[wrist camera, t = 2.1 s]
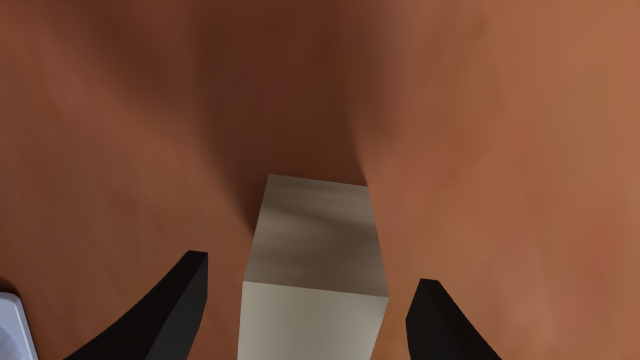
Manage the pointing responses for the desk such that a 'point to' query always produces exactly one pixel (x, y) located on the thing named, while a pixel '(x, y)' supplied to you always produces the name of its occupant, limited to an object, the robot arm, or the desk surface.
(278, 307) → the birch block
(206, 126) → the desk surface
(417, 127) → the desk surface
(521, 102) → the desk surface
